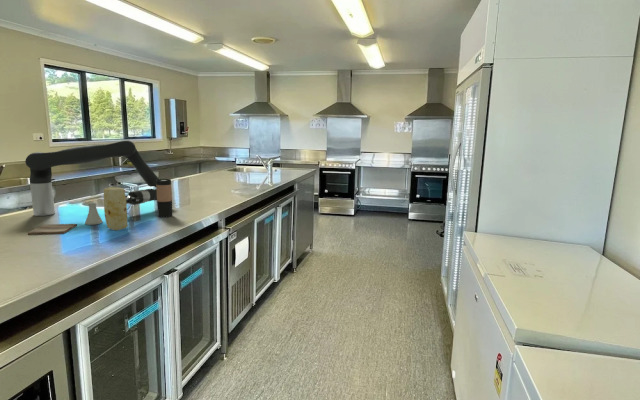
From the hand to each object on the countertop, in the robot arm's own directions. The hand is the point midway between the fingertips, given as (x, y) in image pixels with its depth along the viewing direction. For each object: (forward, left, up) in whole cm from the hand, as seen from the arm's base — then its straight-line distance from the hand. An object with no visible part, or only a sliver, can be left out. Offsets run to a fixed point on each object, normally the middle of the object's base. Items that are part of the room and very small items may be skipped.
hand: (113, 202), depth 191 cm
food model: (+22, +7, -9) cm, 25 cm away
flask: (+9, -7, -9) cm, 15 cm away
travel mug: (-4, +24, -9) cm, 26 cm away
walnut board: (+20, -20, -9) cm, 30 cm away
